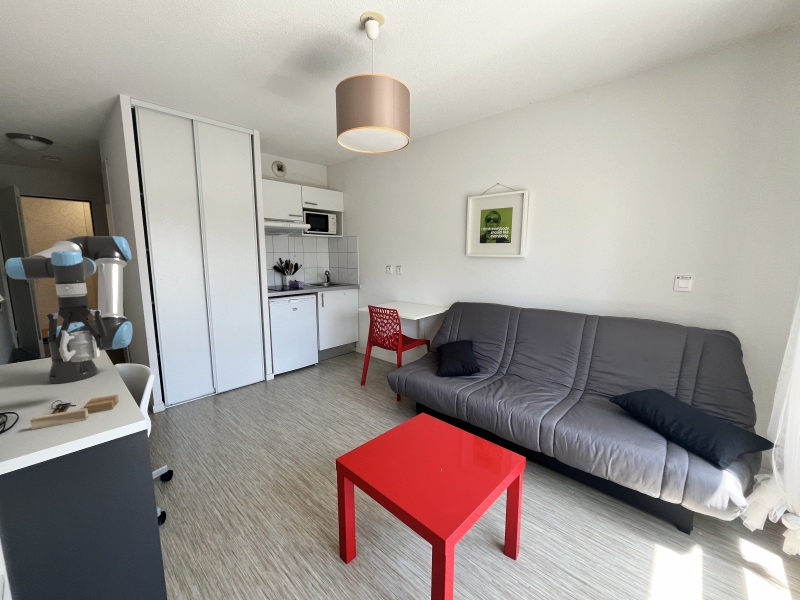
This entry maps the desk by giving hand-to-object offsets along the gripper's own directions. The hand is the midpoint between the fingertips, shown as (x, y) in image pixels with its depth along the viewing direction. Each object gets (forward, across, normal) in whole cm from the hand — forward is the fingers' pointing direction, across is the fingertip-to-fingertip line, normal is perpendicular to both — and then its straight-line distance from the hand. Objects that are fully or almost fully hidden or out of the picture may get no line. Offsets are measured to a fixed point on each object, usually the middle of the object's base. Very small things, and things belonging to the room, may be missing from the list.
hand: (82, 358), depth 117 cm
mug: (+1, -1, 0) cm, 1 cm away
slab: (+15, +8, -15) cm, 22 cm away
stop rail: (+14, 0, -22) cm, 27 cm away
